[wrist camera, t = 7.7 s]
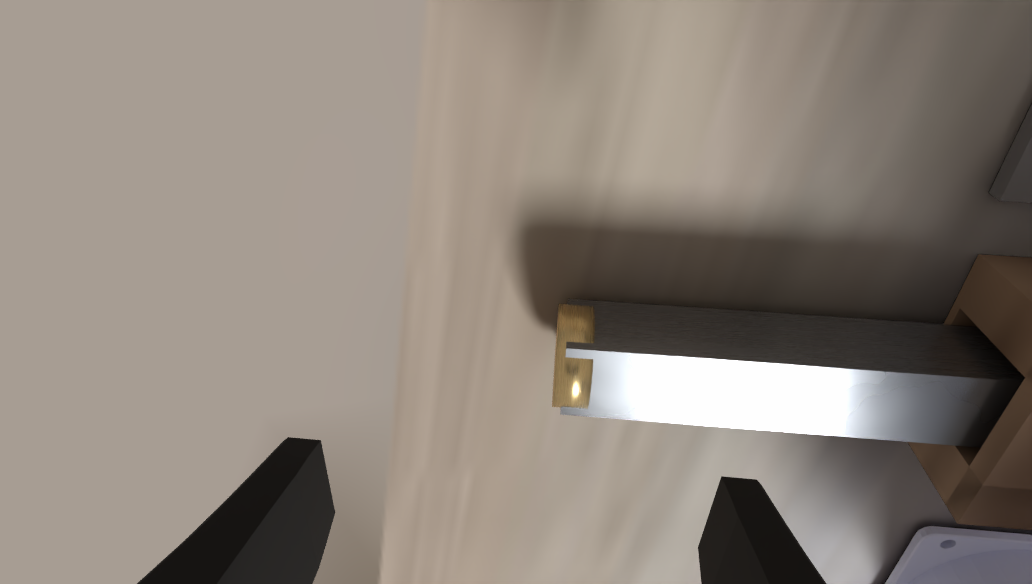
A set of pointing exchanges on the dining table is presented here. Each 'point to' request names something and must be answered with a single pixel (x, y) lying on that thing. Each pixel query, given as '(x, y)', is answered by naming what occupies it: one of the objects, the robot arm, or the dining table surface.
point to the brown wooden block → (1024, 423)
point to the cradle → (1017, 168)
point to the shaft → (780, 372)
